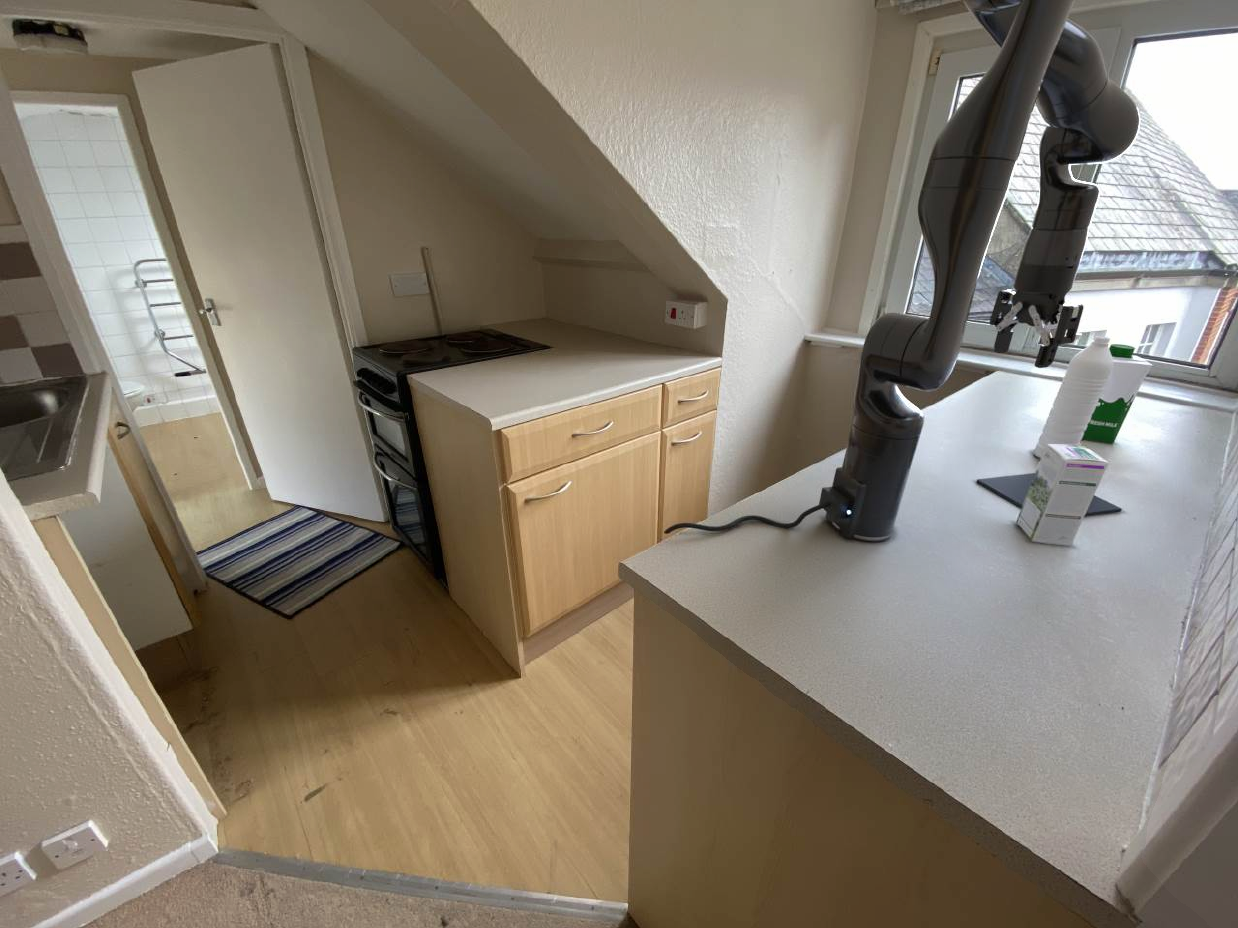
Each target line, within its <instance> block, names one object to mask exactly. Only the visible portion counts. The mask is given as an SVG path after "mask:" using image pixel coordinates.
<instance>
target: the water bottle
mask: <svg viewBox="0 0 1238 928" xmlns="http://www.w3.org/2000/svg"><path fill="white" fill-rule="evenodd" d="M1066 333H1067V331H1066ZM1065 336H1066V334H1065ZM1082 337H1083V333H1080V332H1077V333H1076V337H1075V340H1074V341H1076V340H1077V341H1079V340H1081V339H1082ZM1110 345H1111V338H1110V337H1108V336H1101V335H1100V336H1099V335H1096V336H1094V338H1093V340H1091V343H1090V344H1088V346H1086V347H1085V348H1083V349H1082V350H1080V351H1078V353H1076V354H1075V355H1073V357H1072V358H1071V359H1070V361H1069V363H1068V366H1067V369H1066V372H1065V374H1064V376H1063V379H1062V380H1061V384H1060V387H1059V388H1058V392H1057V393H1056V396H1055V398H1054V401H1053V403H1052V406H1051V408H1050V410H1049V413H1048V416H1047V418H1046V420H1045V424H1044V426H1043V427H1042V430H1041V433H1040V435H1039V438H1038V442H1036V445H1035V448H1034V450H1033V454H1034V455H1035V456H1036V457H1037V458H1039V459H1041V457H1042V455H1043V452H1044V450H1045V447H1046V445H1047V444H1066V445H1076V446H1080V444H1081V441H1082V440H1083V439H1082V438H1083V435H1084V431H1085V430H1086V428H1087V426H1088V425H1087V424H1088V423H1089V422H1090V419H1091V417H1092V414H1093V412H1094V410H1095V408H1096V405H1097V402H1098V401H1099V398H1100V396H1101V394H1102V390H1103V389H1104V386H1105V385H1106V382H1107V380H1108V378H1109V376H1110V374H1111V372H1112V370H1113V367H1114V361H1113V358H1112V355H1111V353H1110V350H1109V348H1110V347H1109V346H1110Z"/></svg>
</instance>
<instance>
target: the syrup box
mask: <svg viewBox="0 0 1238 928" xmlns="http://www.w3.org/2000/svg"><path fill="white" fill-rule="evenodd" d="M1108 465H1109V462H1108V461H1107V460H1105V459H1104V458H1103V457H1101V456H1100V455H1099V454H1097V453H1096V452H1094V451H1093V450H1091V449H1090V448H1088V447H1087V446H1083V445H1079V446H1076V445H1066V444H1047V445H1046V447H1045V450H1044V452H1043V455H1042V457H1041V458H1040V460H1039V463H1038V465H1037V466H1036V467H1037V468H1036V470H1035V472H1034V473H1035V475H1034V478H1033V480H1032V483H1031V485H1030V488H1029V490H1028V493H1027V495H1026V498H1025V500H1024V503H1023V505H1022V508H1020V511H1019V513H1018V516H1017V518H1016V521H1015V524H1016V525H1017V526H1018V527H1019V528H1020V529H1021V531H1022V532H1023V533H1024V534H1025V535H1026V536H1027V537H1028V539H1029V540H1030V541H1031V542H1034V543H1041V544H1047V545H1056V546H1067V547H1071V546H1072V544H1073V542H1074V540H1075V538H1076V535H1077V533H1078V531H1079V529H1080V527H1081V525H1082V522H1083V520H1084V518H1085V517H1086V516H1085V514H1086V512H1087V509H1088V507H1089V505H1090V503H1091V501H1092V498H1093V496H1094V495H1096V492H1097V490H1098V488H1099V486H1100V483H1101V481H1102V479H1103V477H1104V474H1105V473H1106V470H1107V468H1108Z"/></svg>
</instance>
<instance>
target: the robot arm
mask: <svg viewBox="0 0 1238 928" xmlns="http://www.w3.org/2000/svg"><path fill="white" fill-rule="evenodd" d="M1075 2H1076V0H963V3H964V6H966V8H967V10H968V11H969V12H970V14H971V15H972V17H973V18H974V19H975V21H976V22H977V23H978V24H979V25H980V26H981V27H982V29H984V32H986V34H987V35H988V36H989V37H990V38H991V39H992V41H993V42H994V43H995V44H996V46H997V47H998V48H999V51H998V53H997V55H996V57H995V58H994V60H993V61H992V63H991V65H990V66H989V68H988V69H987V70H986V72H985V73H984V74H983V75H982V77H981V79H980V80H979V81H978V82H977V83H976V85H975V86H974V87H973V89H972V90H971V91H970V92H969V94H968V95H967V96H966V97H965V98H964V100H963V101H962V103H961V104H960V105H959V106H958V107H957V109H956V110H955V112H953V114H952V115H951V116H950V118H949V119H948V121H947V122H946V124H945V125H944V126H943V127H942V129H941V131H940V132H939V133H938V135H937V137H936V138H935V140H934V142H933V144H932V146H931V149H930V152H929V155H928V158H927V163H926V166H925V170H924V174H923V177H922V179H921V183H920V188H919V191H918V196H917V199H916V200H917V201H916V214H917V215H916V217H917V221H918V225H919V229H920V232H921V236H922V239H923V242H924V245H925V248H926V251H927V254H928V257H929V261H930V265H931V268H932V274H933V296H932V297H933V298H932V303H931V309H930V314H929V317H924V316H918V315H912V314H906V313H899V312H887V313H883V314H881V315H880V316H879V317H878V318H876V320H875V321H873V324H872V325H871V326H870V328H869V330H868V332H867V334H866V336H865V339H864V343H863V345H862V349H861V355H860V360H859V365H858V366H859V367H858V372H857V379H856V385H855V391H854V396H853V401H852V402H853V417H852V423H851V426H850V431H849V434H848V435H849V436H848V441H847V445H846V449H845V452H844V457H843V462H842V466H839V467H836V469H835V471H834V477H833V480H832V481H833V482H832V485H831V486H826V487H821V492H820V498H819V502H818V505H815V506H812V507H810V508H809V509H807V510H805V511H803V512H802V513H800V515H799V516H798V517H797V518H796V520H794V521H793V522H789V523H784V522H779V521H775V520H772V519H770V518H767V517H764V516H761V515H752V514H751V515H745V516H741V517H739V518H737V519H735V520H733V521H731V522H729V523H728V524H724V525H719V526H714V525H713V526H712V525H705V524H700V523H693V522H681V523H676V524H673V525H671V526H669V527H667V528H666V529H665V530H664V531H663V534H665V535H669V534H671V533H672V532H674V531H676V530H679V529H684V528H688V529H695V530H700V531H707V532H723V531H726V530H730V529H732V528H734V527H736V526H737V525H739V524H741V523H743V522H748V521H759V522H762V523H765V524H768V525H771V526H774V527H777V528H783V529H792V528H795V527H797V526H799V525H800V524H801V523H802V522H803V520H804V519H805V518H806V517H807V516H810V515H811V514H813V513H815V512H817V511H820V510H823V511H825V512H826V513H825V517H824V519H825V520H826V521H827V522H828V523H829V524H831V526H833V528H834V529H835V530H837V531H838V533H840V535H842V536H843V537H844V538H845V539H855V540H859V541H863V542H881V541H885V540H888V539H891V537H892V535H893V533H894V530H895V529H894V527H895V524H896V521H897V517H898V513H899V510H900V506H901V503H902V500H903V496H904V492H905V490H906V485H907V482H908V478H909V476H910V471H911V469H912V466H913V462H914V459H915V455H916V452H917V448H918V444H919V441H920V437H921V435H922V430H923V427H924V424H925V415H924V413H923V411H922V410H921V409H920V408H919V407H917V406H916V405H915V404H913V403H912V402H911V401H910V400H908V399H907V398H906V397H905V395H903V393H902V392H901V390H900V389H899V386H902V387H907V388H910V389H914V390H918V391H923V392H934V391H937V390H938V389H940V388H941V387H943V385H944V384H945V383H946V382H947V380H948V379H949V377H950V376H951V375H952V372H953V370H954V368H955V365H956V363H957V360H958V358H959V354H960V351H961V347H962V344H963V340H964V336H965V333H966V329H967V324H968V320H969V316H970V312H971V309H972V308H971V307H972V304H973V300H974V296H975V292H976V287H977V283H978V280H979V276H980V273H981V269H982V266H983V263H984V260H985V256H986V254H987V250H988V247H989V245H990V241H991V239H992V236H993V233H994V230H995V227H996V225H997V222H998V220H999V216H1000V213H1001V210H1002V208H1003V205H1004V202H1005V200H1006V198H1007V194H1008V192H1009V188H1010V186H1011V182H1012V178H1013V176H1014V172H1015V171H1016V167H1017V163H1018V161H1019V157H1020V154H1021V151H1022V147H1023V144H1024V140H1025V136H1026V134H1027V130H1028V127H1029V123H1030V121H1031V118H1032V114H1033V111H1034V109H1035V106H1036V108H1037V111H1038V113H1039V115H1040V117H1041V119H1042V121H1043V123H1045V124H1046V126H1045V128H1044V130H1043V132H1042V134H1041V137H1040V141H1039V146H1038V164H1039V189H1038V190H1039V194H1038V196H1039V197H1038V202H1037V206H1036V210H1035V213H1034V216H1033V221H1032V224H1031V228H1030V231H1029V234H1028V236H1027V238H1026V241H1025V243H1024V246H1023V249H1022V254H1021V257H1020V261H1019V265H1018V267H1017V268H1018V269H1017V272H1016V276H1015V280H1014V283H1013V288H1012V289H1007V290H999V291H998V293H997V296H996V299H995V302H994V306H993V308H992V311H991V315H990V318H989V325H990V326H994V327H995V329H996V331H997V333H996V337H995V341H994V344H993V348H994V349H993V352H994V353H997V354H1003V353H1008V351H1009V349H1010V345H1011V342H1012V340H1013V339H1012V338H1013V335H1014V329H1015V328H1016V327H1017V326H1018V325H1020V324H1027V325H1028V326H1030V327H1033V328H1035V332H1036V333H1037V334H1039V336H1040V339H1041V342H1042V343H1041V345H1040V346H1039V348H1038V349H1039V350H1038V352H1037V355H1036V359H1035V362H1034V367H1035V368H1038V369H1044V368H1048V367H1050V366H1051V365H1052V364H1053V363H1054V361H1055V357H1056V355H1057V351H1058V349H1059V346H1061V345H1069V344H1073V343H1074V342H1075V341H1076V340H1075V337H1076V333H1078V329H1079V326H1080V322H1081V319H1082V315H1083V312H1084V309H1085V308H1084V305H1083V304H1081V303H1079V304H1070V303H1069V304H1068V303H1066V301H1065V300H1066V295H1067V294H1068V293H1069V292H1070V291H1071V290H1072V288H1073V285H1074V282H1075V279H1076V276H1077V273H1078V271H1079V268H1080V264H1081V261H1082V258H1083V254H1084V252H1085V249H1086V245H1087V242H1088V236H1089V235H1088V234H1089V230H1090V226H1091V223H1092V219H1093V217H1094V214H1095V211H1096V208H1097V206H1098V201H1099V198H1100V195H1101V189H1100V187H1099V185H1097V184H1095V183H1092V182H1086V181H1081V180H1077V179H1075V178H1074V177H1073V174H1072V171H1071V166H1072V165H1073V166H1074V165H1093V164H1094V165H1095V164H1103V163H1104V164H1105V163H1109V162H1112V161H1114V160H1116V159H1118V158H1119V157H1121V156H1122V155H1123V154H1125V153H1126V152H1127V151H1129V149H1130V148H1131V146H1133V144H1134V143H1135V140H1136V138H1137V136H1138V134H1139V131H1140V126H1141V125H1140V124H1141V117H1140V111H1139V108H1138V106H1137V105H1136V103H1135V101H1134V100H1133V98H1131V96H1130V95H1129V94H1128V93H1126V92H1125V91H1124V90H1123V88H1121V87H1120V86H1119V85H1118V84H1117V82H1115V81H1113V80H1112V79H1111V78H1110V77H1109V74H1108V71H1107V66H1106V63H1105V59H1104V56H1103V53H1102V49H1101V48H1100V45H1099V43H1098V41H1097V40H1096V39H1095V38H1094V37H1093V35H1092V34H1091V33H1089V32H1088V31H1087V30H1086V29H1085V28H1084V27H1082V26H1081V25H1080V24H1078V23H1076V22H1074V21H1072V20H1071V19H1069V16H1070V14H1071V11H1072V9H1073V7H1074V4H1075ZM1049 323H1050V324H1049ZM1066 332H1067V333H1066ZM1065 335H1066V336H1065Z"/></svg>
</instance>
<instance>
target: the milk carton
mask: <svg viewBox="0 0 1238 928" xmlns="http://www.w3.org/2000/svg"><path fill="white" fill-rule="evenodd" d="M1108 348H1109V350H1110V353H1111V355H1112V358H1113V361H1114V367H1113V370H1112V372H1111V374H1110V376H1109V378H1108V380H1107V382H1106V385H1105V386H1104V389H1103V390H1102V394H1101V396H1100V398H1099V401H1098V402H1097V405H1096V408H1095V410H1094V412H1093V414H1092V417H1091V419H1090V422H1089V423H1088V424H1087V425H1088V426H1087V428H1086V430H1085V431H1084V435H1083V438H1082V439H1081V440H1085V441H1091V442H1099V443H1107V444H1115V441H1116V439H1117V437H1118V434H1119V433H1120V430H1121V428H1122V426H1123V424H1124V421H1125V420H1126V417H1127V415H1128V413H1129V411H1130V409H1131V407H1132V405H1133V403H1134V401H1135V398H1136V396H1137V395H1138V392H1139V390H1140V388H1141V386H1142V384H1143V382H1144V380H1145V379H1146V378H1147V375H1148V374H1149V372H1150V371H1151V369H1152V367H1153V366H1154V364H1152V363H1150V362H1149V361H1148V360H1147V359H1144V358H1142V357H1141V356H1138V355H1134V352H1135V350H1136V347H1134V346H1131V345H1127V344H1117V343H1113V344H1110V345H1109V347H1108Z"/></svg>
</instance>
